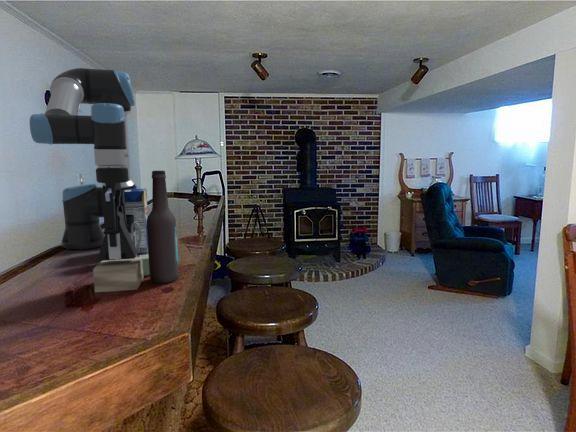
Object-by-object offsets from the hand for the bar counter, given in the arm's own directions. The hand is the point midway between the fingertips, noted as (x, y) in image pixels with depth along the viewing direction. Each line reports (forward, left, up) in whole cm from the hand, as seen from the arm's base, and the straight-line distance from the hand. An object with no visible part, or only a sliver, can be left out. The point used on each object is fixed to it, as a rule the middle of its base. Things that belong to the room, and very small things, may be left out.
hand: (118, 255), depth 101 cm
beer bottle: (-2, +11, -8) cm, 14 cm away
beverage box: (-39, -2, -8) cm, 40 cm away
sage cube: (-10, +6, -8) cm, 14 cm away
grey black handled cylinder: (-22, -2, -8) cm, 24 cm away
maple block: (0, 0, -8) cm, 8 cm away
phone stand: (0, 0, -1) cm, 1 cm away
